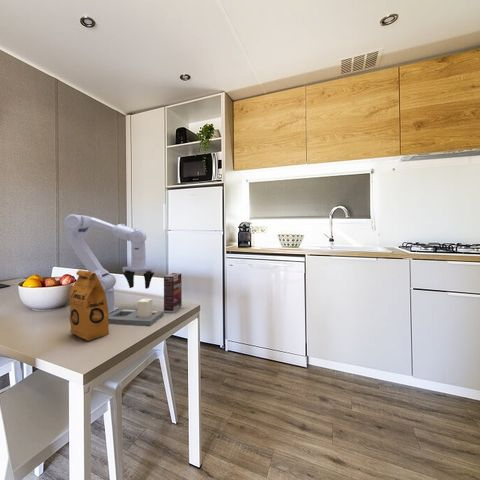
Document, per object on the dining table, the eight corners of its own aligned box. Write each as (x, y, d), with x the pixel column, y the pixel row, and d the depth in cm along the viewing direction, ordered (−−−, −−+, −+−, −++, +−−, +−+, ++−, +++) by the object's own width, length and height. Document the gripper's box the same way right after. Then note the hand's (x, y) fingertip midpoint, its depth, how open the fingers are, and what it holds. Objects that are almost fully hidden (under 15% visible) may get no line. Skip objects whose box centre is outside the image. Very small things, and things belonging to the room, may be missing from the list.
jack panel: (101, 323, 93) (101, 318, 93) (119, 313, 104) (119, 308, 104) (150, 325, 90) (150, 320, 90) (163, 315, 101) (163, 310, 101)
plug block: (138, 321, 95) (137, 301, 94) (143, 317, 99) (142, 298, 98) (147, 322, 94) (147, 301, 94) (152, 318, 98) (152, 298, 98)
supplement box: (173, 313, 104) (173, 276, 103) (163, 312, 105) (162, 276, 104) (182, 306, 112) (182, 273, 111) (172, 306, 113) (172, 272, 112)
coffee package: (81, 345, 76) (79, 275, 75) (66, 334, 83) (64, 271, 82) (113, 333, 84) (112, 271, 82) (97, 325, 91) (96, 267, 90)
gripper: (118, 258, 104) (118, 289, 105) (149, 259, 102) (149, 290, 103) (127, 256, 111) (128, 285, 112) (157, 257, 109) (157, 286, 110)
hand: (139, 287), depth 108 cm, fingers open, 7 cm apart
